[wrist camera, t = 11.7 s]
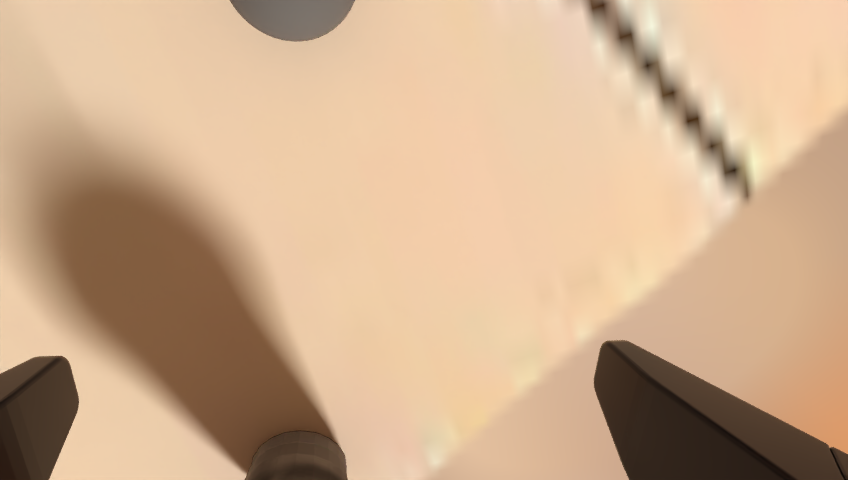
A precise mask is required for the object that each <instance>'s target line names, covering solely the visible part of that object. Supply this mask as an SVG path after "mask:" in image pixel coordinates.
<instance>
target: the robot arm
mask: <svg viewBox="0 0 848 480" xmlns="http://www.w3.org/2000/svg"><path fill="white" fill-rule="evenodd" d="M594 388H595V392H596V395H597V398H598V400H599V403H600V406H601V408H602V411H603V414H604V417H605V419H606V422H607V425H608V427H609V430H610V433H611V436H612V438H613V441H614V444H615V446H616V449H617V452H618V454H619V457H620V460H621V462H622V465H623V467H624V469H625V471H626V473H627V476H628V478H629V480H848V454H846V453H844V452H842V451H840V450H838V449H836V448H834V447H831V448H829V446H828V445H827V444H826V443H824V442H822V441H820V440H818V439H817V438H815V437H813V436H810V435H809V434H807V433H805V432H803V431H801V430H799V429H797V428H795V427H793V426H791V425H789V424H788V423H785V422H783V421H782V420H780V419H778V418H776V417H774V416H772V415H770V414H768V413H766V412H764V411H762V410H760V409H758V408H756V407H755V406H753V405H751V404H749V403H747V402H745V401H743V400H741V399H739V398H737V397H735V396H733V395H731V394H729V393H727V392H725V391H724V390H722V389H720V388H718V387H716V386H714V385H712V384H710V383H708V382H706V381H704V380H702V379H700V378H698V377H696V376H695V375H693V374H691V373H689V372H687V371H685V370H683V369H681V368H679V367H677V366H675V365H673V364H671V363H669V362H667V361H665V360H664V359H662V358H660V357H658V356H656V355H654V354H652V353H650V352H648V351H646V350H644V349H642V348H640V347H638V346H636V345H634V344H633V343H631V342H629V341H625V340H619V341H618V340H617V341H606V342H604V343H603V344H602V346H601V348H600V352H599V357H598V362H597V366H596V372H595V376H594ZM78 405H79V398H78V393H77V389H76V385H75V382H74V378H73V374H72V370H71V366H70V364H69V361H68V360H67V359H66V358H65V357H63V356H41V357H34V358H32V359H30V360H28V361H26V362H24V363H22V364H20V365H18V366H15V367H13V368H11V369H9V370H7V371H5V372H3V373H1V374H0V480H49V478H50V476H51V473H52V471H53V469H54V466H55V464H56V461H57V459H58V457H59V454H60V452H61V449H62V447H63V445H64V442H65V440H66V438H67V435H68V433H69V430H70V428H71V426H72V423H73V421H74V418H75V416H76V414H77V410H78Z"/></svg>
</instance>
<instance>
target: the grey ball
mask: <svg viewBox="0 0 848 480" xmlns="http://www.w3.org/2000/svg"><path fill="white" fill-rule="evenodd" d="M354 1H355V0H230V2H231V3H232V4H233V6H234V7H235V9H236V10H237V11H238V13H239V14H240V15H241V16H242V17H243V18H244V19H245V20H246V21H247V22H248V23H249V24H251V25H252V26H253V27H255V28H256V29H258V30H259V31H261V32H263V33H265V34H267V35H269V36H272V37H274V38H277V39H281V40H286V41H307V40H312V39H315V38H319V37H321V36H323V35H325V34H327V33H329V32H330V31H332V30H333V29H335V28H336V27H337V26H338V25H339V24H340V23H341V22H342V21H343V20H344V18H345V17H346V16H347V14H348V13H349V11H350V10H351V8H352V6H353V3H354Z"/></svg>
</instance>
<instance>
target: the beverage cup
mask: <svg viewBox="0 0 848 480" xmlns="http://www.w3.org/2000/svg"><path fill="white" fill-rule="evenodd" d="M346 468H347V466H346V459H345V455H344V453H343V452H342V450H341V449H340V447H339V446H338V445H337V444H336V443H335V442H333V441H332V440H331V439H329V438H328V437H325V436H323V435H320V434H317V433H314V432H305V431H295V432H287V433H283V434H280V435H278V436H275V437H273V438H271V439H269V440H268V441H267V442H265V443H264V444H263V445H261V446H260V447H259V449H258V450H257V452H256V453H255V455H254V456H253V461H252V465H251V467H250V468H249V471H248V474H247V476H246V478H245V480H348V479H347V473H346Z"/></svg>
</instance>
